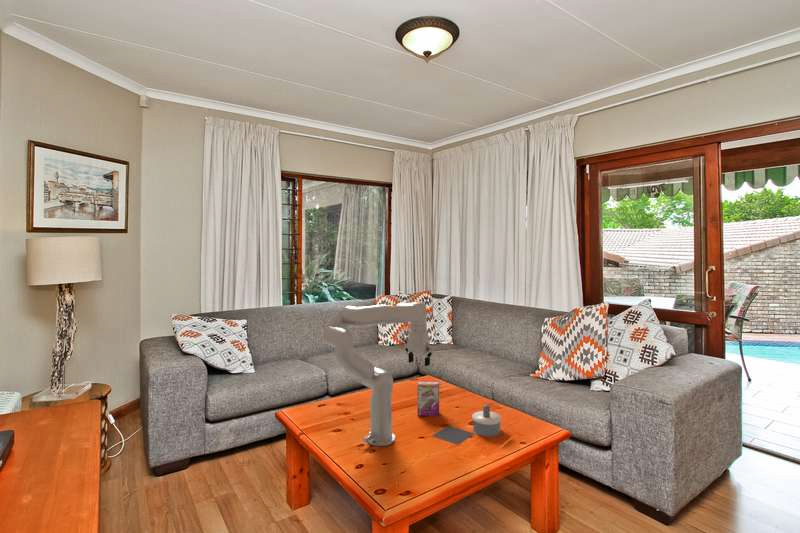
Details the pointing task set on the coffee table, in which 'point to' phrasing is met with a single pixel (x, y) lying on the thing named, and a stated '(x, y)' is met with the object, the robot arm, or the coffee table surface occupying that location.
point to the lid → (486, 416)
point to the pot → (486, 429)
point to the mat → (453, 435)
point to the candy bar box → (428, 398)
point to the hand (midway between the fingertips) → (419, 363)
